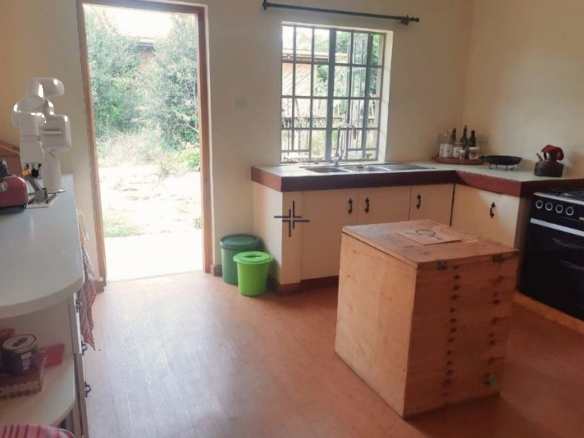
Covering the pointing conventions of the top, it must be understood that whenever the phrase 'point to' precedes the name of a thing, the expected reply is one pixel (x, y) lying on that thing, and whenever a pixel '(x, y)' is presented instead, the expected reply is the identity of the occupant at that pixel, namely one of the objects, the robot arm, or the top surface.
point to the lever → (32, 180)
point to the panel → (39, 204)
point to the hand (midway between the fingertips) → (35, 177)
